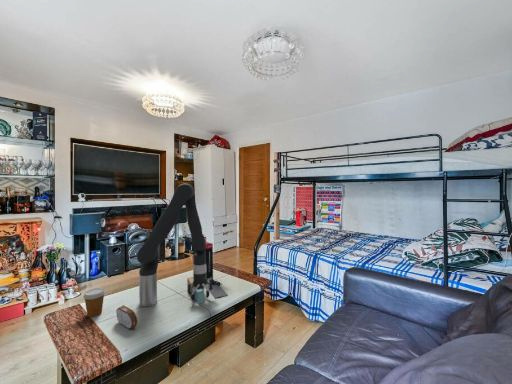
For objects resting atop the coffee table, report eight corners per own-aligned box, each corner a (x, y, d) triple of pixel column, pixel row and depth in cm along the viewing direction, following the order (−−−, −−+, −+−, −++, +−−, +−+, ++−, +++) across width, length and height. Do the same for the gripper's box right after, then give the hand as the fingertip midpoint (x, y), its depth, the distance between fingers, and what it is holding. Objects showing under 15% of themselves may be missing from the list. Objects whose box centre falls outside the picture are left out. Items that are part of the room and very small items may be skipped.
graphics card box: (213, 280, 172) (213, 242, 172) (205, 283, 167) (205, 244, 167) (200, 274, 184) (200, 239, 184) (192, 277, 179) (192, 240, 179)
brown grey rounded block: (138, 329, 113) (137, 311, 113) (131, 332, 110) (131, 314, 110) (121, 319, 121) (121, 303, 121) (115, 322, 119) (115, 305, 118)
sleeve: (190, 298, 144) (190, 283, 144) (187, 292, 153) (187, 277, 153) (203, 295, 148) (203, 280, 147) (199, 289, 156) (199, 275, 156)
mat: (215, 298, 144) (215, 297, 144) (206, 287, 160) (206, 286, 160) (227, 295, 147) (227, 294, 147) (218, 285, 163) (218, 284, 163)
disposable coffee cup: (100, 318, 123) (99, 294, 122) (79, 319, 121) (79, 296, 121) (108, 308, 132) (108, 287, 132) (89, 310, 130) (89, 288, 130)
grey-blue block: (198, 304, 137) (198, 293, 137) (192, 295, 149) (192, 285, 149) (204, 302, 139) (204, 292, 139) (198, 293, 150) (198, 284, 150)
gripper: (188, 275, 134) (189, 304, 134) (213, 271, 140) (213, 298, 140) (186, 271, 140) (186, 298, 140) (209, 267, 147) (210, 293, 147)
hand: (200, 298), depth 140 cm, fingers open, 8 cm apart
